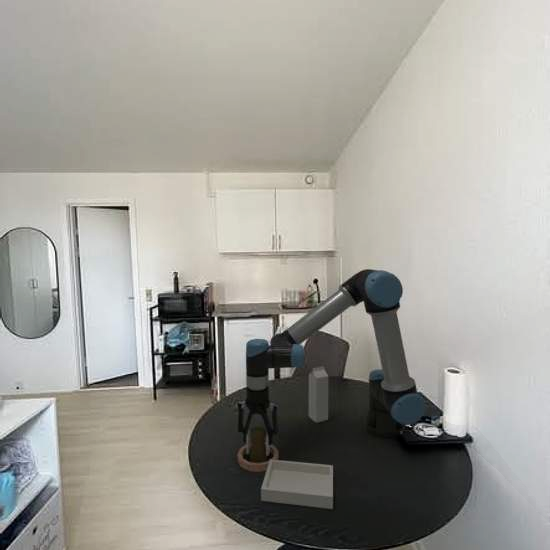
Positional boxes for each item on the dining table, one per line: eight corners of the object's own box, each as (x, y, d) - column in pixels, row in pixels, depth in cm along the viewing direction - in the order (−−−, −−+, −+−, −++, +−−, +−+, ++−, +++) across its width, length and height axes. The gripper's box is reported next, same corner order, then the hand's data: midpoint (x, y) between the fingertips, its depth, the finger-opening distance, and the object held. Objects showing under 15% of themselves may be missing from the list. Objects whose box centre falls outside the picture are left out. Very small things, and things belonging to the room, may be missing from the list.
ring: (280, 449, 122) (280, 443, 122) (274, 473, 109) (274, 467, 109) (244, 446, 124) (244, 440, 124) (233, 469, 111) (233, 463, 111)
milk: (308, 417, 146) (308, 366, 145) (320, 413, 149) (320, 364, 148) (316, 423, 141) (316, 370, 139) (328, 419, 144) (328, 368, 142)
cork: (253, 466, 113) (253, 434, 112) (246, 457, 118) (246, 426, 117) (270, 461, 115) (269, 429, 115) (262, 452, 121) (262, 421, 120)
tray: (332, 476, 108) (332, 465, 107) (332, 509, 94) (332, 496, 94) (270, 469, 111) (270, 459, 111) (261, 500, 97) (261, 488, 97)
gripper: (287, 383, 117) (287, 448, 119) (233, 380, 120) (234, 443, 122) (284, 392, 110) (284, 461, 111) (226, 388, 113) (227, 456, 114)
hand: (258, 452), depth 116 cm, fingers open, 6 cm apart
